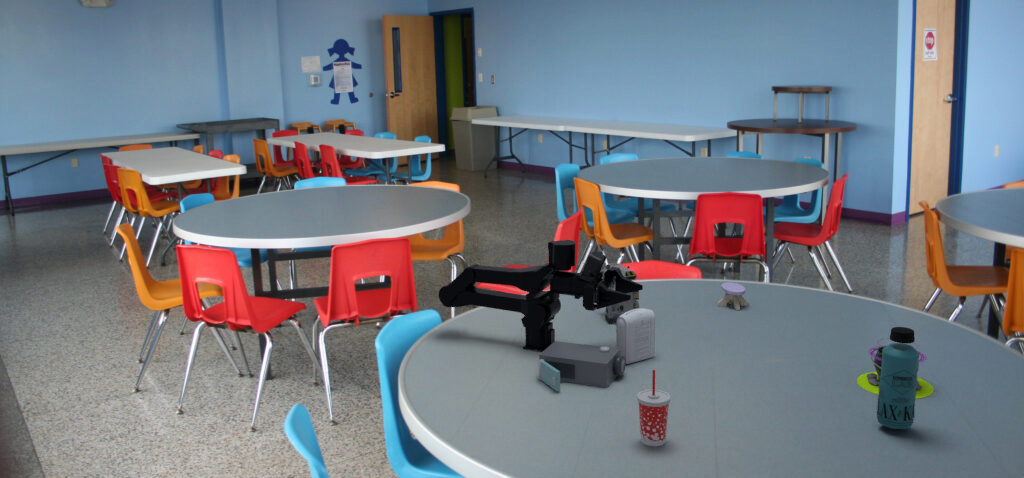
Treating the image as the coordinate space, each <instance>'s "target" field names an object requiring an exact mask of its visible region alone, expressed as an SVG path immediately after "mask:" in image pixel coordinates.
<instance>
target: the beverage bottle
mask: <svg viewBox="0 0 1024 478" xmlns="http://www.w3.org/2000/svg"><path fill="white" fill-rule="evenodd" d="M915 339H916V337H915V331H914V329H912V328H909V327H906V326H905V327H904V326H893V327H891V329H890V333H889V340H890V341H891V342H893V343H890V344H887V345H888V346H887V345H885V346H886V347H885V348H883V350H882V353H883V354H882V365H881V376H880V379H879V380H880V381H879V382H880V386H879V387H878V388H879V395H878V397H877V399H876V400H877V402H876V403H877V408H876V418H877V422H878V423H879V424H881V425H882V426H884V427H887V428H890V429H895V430H897V429H898V430H906V429H910V428H911V427H912V426H913V424H914V423H915V422H914V421H915V419H914V418H915V407H916V400H917V399H915V396H917V394H916V393H917V392H916V385H917V377H918V372H919V369H918V361H919V360H920V354H919V353H918V349H915V348H916V347H913V345H910V344H914V343H915ZM919 362H920V361H919Z"/></svg>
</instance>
